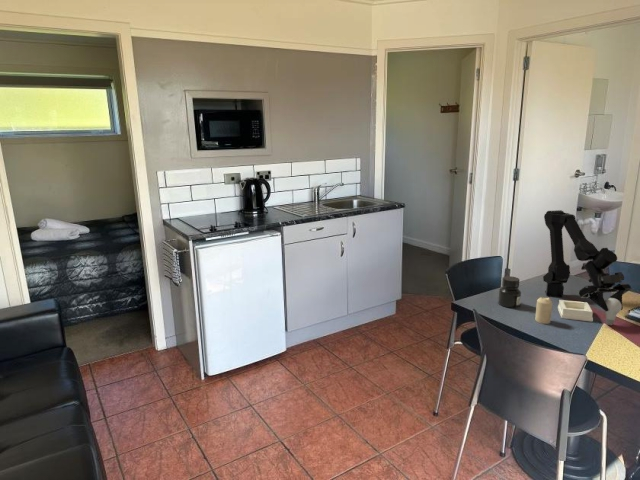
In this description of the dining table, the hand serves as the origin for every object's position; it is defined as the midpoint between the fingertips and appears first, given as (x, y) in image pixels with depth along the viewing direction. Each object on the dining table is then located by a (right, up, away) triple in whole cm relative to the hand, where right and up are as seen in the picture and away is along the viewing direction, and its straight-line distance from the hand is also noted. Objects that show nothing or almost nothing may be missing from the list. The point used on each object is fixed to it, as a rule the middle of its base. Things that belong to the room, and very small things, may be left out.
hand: (614, 310), depth 171 cm
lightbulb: (0, -6, +3) cm, 7 cm away
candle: (-24, -6, +7) cm, 26 cm away
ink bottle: (-30, -2, +25) cm, 39 cm away
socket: (-8, -4, +13) cm, 16 cm away
